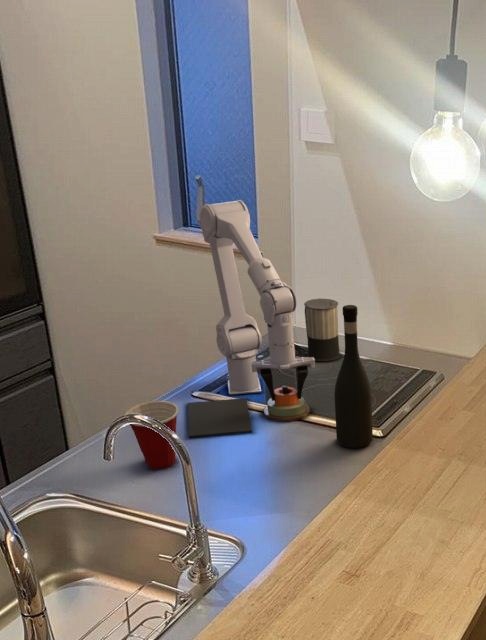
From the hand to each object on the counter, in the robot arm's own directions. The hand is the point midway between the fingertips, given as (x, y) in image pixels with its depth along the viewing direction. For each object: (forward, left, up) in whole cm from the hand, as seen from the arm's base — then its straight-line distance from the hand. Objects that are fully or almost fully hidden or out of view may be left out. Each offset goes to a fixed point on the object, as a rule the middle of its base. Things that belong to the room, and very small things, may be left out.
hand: (286, 398), depth 202 cm
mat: (0, -16, -4) cm, 16 cm away
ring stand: (0, 0, -4) cm, 4 cm away
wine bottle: (+20, +13, -4) cm, 24 cm away
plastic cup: (+22, -29, -4) cm, 37 cm away
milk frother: (-38, +10, -4) cm, 39 cm away
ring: (0, 0, -1) cm, 1 cm away
